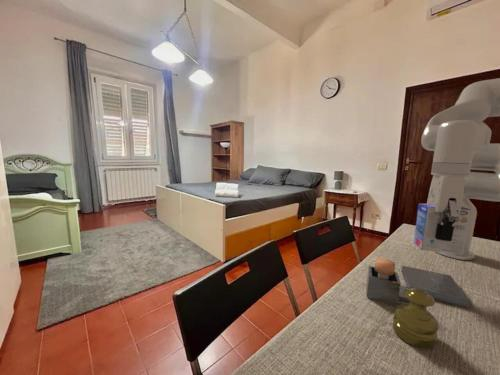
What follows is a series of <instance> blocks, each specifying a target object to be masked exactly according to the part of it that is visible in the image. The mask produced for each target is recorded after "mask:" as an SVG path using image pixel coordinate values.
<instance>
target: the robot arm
mask: <svg viewBox="0 0 500 375" xmlns="http://www.w3.org/2000/svg"><path fill="white" fill-rule="evenodd" d="M493 117H500V77H498V78H493V79H492V78H491V79H485V80H480V81H475V82H472V83H471V84H468V85H467V86H466V87H464V89H462V92H461V93H460V95H459V96H458V99H457V100H456V102H455V103H454V105H452V106H451V107H448V108H446V109H444V110H442V111H440V112H438V113H436V114H435V115H433V116H432V117H431V118H430V119H429V121H428V122H427V124H426V126H425V128H424V130H423V131H422V135H421V138H420V141H421V147H422V148H423V149H424V150H426V151H429V152H434V153H433V159H432V164H431V171H430V175H432V179H431V182H430V186H429V190H428V197H427V201H426V204H431V205H432V206H434V212H435V213H439V212H440V220H439V224H437V230H436V236H435V238H436V239H438V240H444V241H452V236H453V230H454V226H455V221H456V218H457V216H458V214H460V211H461V207H464V208H468V209H470V210H471V212H470V217H469V223H468V228H467V234H466V240H465V246H464V252H463V254H456V253H446V252H436V251H434V252H435V253H437V254H440V255H441V256H445V257H448V258H452V259H455V260H461V261H462V260H463V261H470V260H471V261H472V260H474V259H475V258H476V257H475V254H474V252H471V251H470V250H471V246H472V239H473V236H474V229H475V226H476V219H477V216H478V211H477V208H476V206H475V205H474V204H473V203H472V202H471V200H470V199H473V200H480V201H488V202H500V143H490V142H491V139H492V138H491V137H492V135H493V134H492V129H491V128H490V127H489V126H488V124H486V123H485V122H484V121H485V120H486V119H487V118H493ZM471 170H474V171H471ZM475 170H476V171H475ZM477 171H478V172H477ZM479 171H489V172H490V171H491V172H494V173H489V172H479ZM443 211H447V212H449V213H443ZM444 216H448V217H445V218H444Z"/></svg>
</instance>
